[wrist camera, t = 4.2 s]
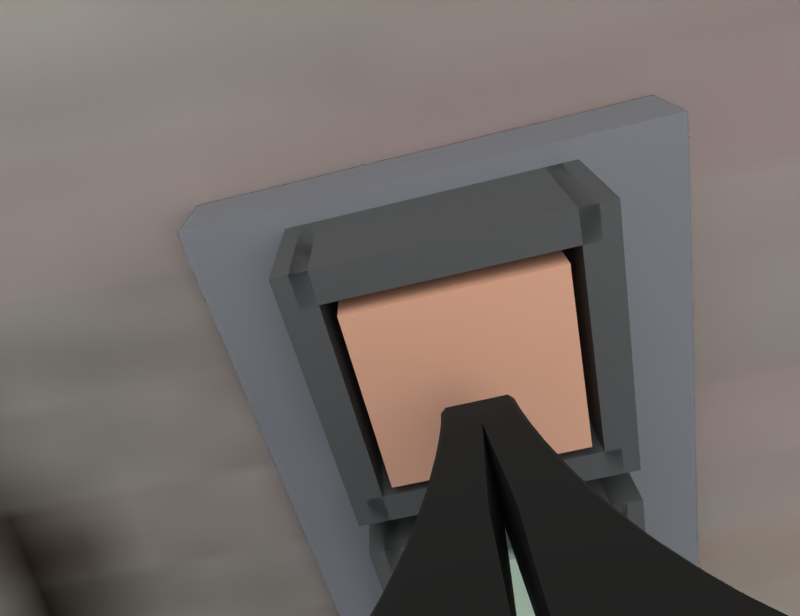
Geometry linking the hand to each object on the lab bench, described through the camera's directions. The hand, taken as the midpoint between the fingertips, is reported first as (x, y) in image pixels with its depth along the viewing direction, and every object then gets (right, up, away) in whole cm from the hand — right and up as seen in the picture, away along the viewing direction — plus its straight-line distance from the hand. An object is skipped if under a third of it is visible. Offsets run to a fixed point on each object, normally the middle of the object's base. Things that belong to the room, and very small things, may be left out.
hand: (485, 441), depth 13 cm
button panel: (+2, -4, +10) cm, 10 cm away
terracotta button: (0, +2, +4) cm, 4 cm away
